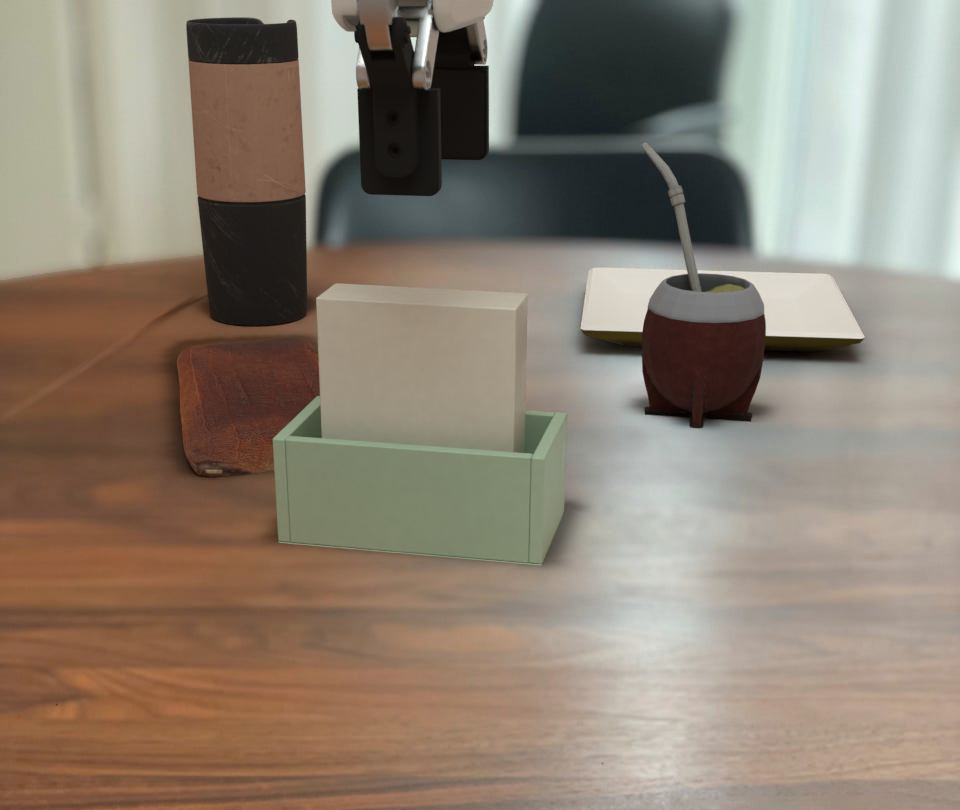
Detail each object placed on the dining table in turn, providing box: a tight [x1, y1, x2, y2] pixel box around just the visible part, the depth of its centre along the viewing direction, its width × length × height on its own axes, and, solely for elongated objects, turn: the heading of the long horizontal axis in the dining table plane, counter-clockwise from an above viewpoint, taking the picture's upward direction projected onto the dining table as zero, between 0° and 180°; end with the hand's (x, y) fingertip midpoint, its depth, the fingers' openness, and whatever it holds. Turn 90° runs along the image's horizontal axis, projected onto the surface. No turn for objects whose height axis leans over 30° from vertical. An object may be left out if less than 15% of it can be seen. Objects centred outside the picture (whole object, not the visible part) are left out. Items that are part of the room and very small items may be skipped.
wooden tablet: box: [176, 337, 320, 478], centre depth 89 cm, size 27×10×2 cm, turn 12°
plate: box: [580, 267, 866, 353], centre depth 107 cm, size 19×19×2 cm
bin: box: [273, 396, 568, 566], centre depth 70 cm, size 12×7×6 cm, turn 78°
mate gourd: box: [641, 141, 766, 429], centre depth 85 cm, size 8×8×15 cm
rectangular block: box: [315, 282, 529, 453], centre depth 69 cm, size 9×3×11 cm, turn 78°
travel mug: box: [185, 16, 308, 327], centre depth 106 cm, size 8×8×20 cm
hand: (429, 175), depth 64 cm, fingers open, 9 cm apart
